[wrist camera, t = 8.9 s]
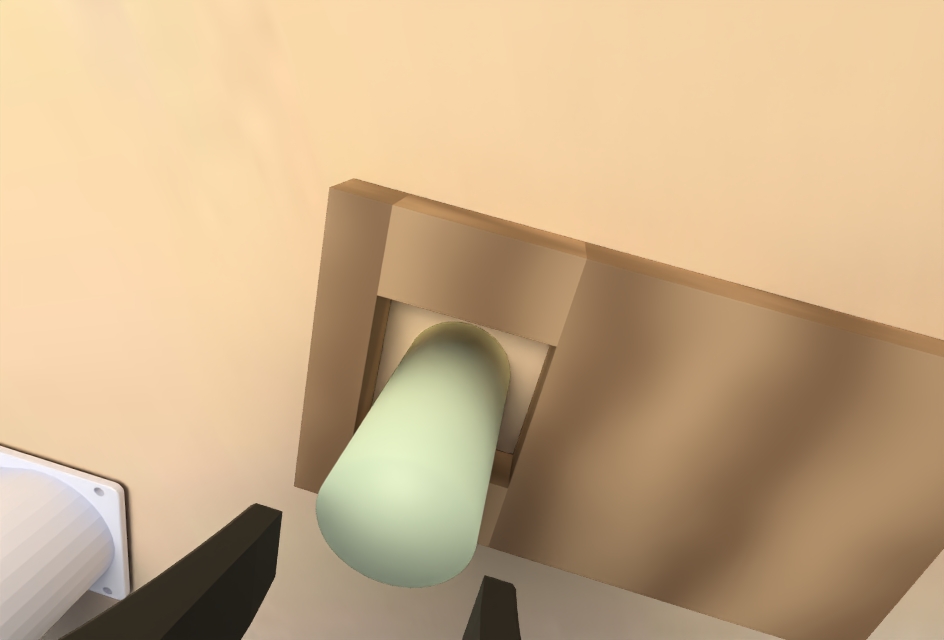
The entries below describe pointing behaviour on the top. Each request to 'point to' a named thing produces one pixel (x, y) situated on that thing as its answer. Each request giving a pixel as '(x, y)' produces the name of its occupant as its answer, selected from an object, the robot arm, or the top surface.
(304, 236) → the top surface
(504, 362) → the peg
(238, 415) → the top surface
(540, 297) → the walnut board
